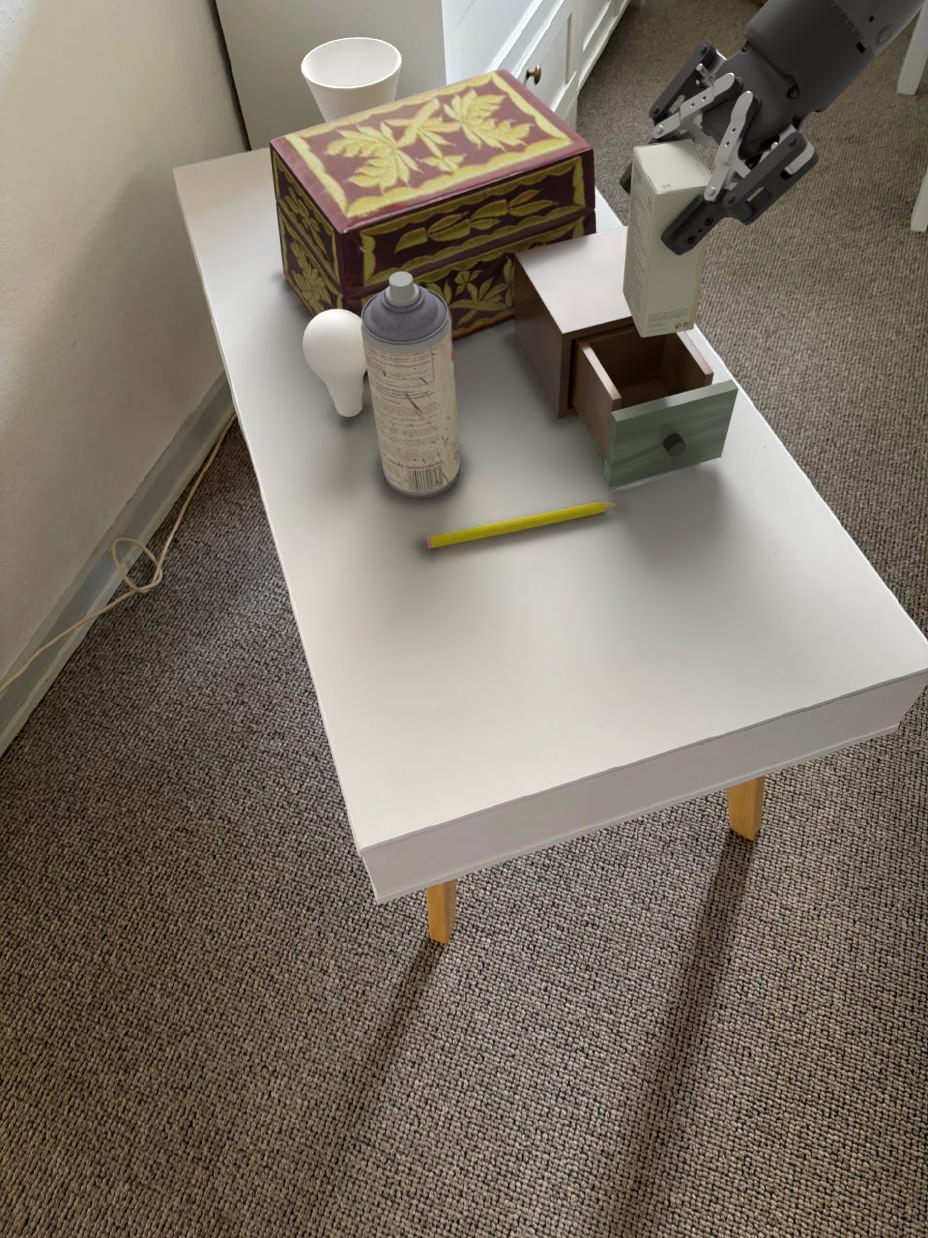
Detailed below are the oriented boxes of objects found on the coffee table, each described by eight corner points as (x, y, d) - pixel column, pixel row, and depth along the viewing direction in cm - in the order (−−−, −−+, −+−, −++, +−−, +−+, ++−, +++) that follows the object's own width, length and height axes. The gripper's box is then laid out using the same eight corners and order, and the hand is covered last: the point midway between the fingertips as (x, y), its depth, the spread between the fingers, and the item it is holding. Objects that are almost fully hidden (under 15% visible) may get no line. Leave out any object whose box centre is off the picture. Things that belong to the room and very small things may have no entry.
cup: (315, 166, 115) (293, 45, 103) (402, 151, 116) (390, 30, 105) (329, 217, 109) (308, 95, 98) (421, 200, 110) (411, 78, 99)
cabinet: (675, 387, 92) (691, 300, 83) (557, 419, 90) (562, 333, 82) (624, 310, 98) (634, 223, 90) (513, 339, 96) (514, 252, 88)
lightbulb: (368, 382, 94) (353, 285, 84) (393, 422, 90) (380, 326, 81) (308, 403, 92) (286, 307, 83) (331, 445, 89) (311, 349, 80)
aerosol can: (476, 471, 87) (467, 279, 70) (415, 511, 84) (392, 323, 68) (427, 430, 90) (408, 237, 73) (368, 467, 87) (334, 277, 71)
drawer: (727, 466, 84) (745, 398, 78) (614, 499, 83) (622, 432, 76) (669, 378, 91) (681, 308, 84) (562, 407, 89) (566, 338, 83)
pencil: (429, 551, 82) (428, 543, 81) (426, 542, 82) (425, 534, 81) (618, 511, 83) (619, 504, 82) (615, 503, 84) (616, 495, 83)
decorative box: (353, 380, 94) (329, 243, 81) (282, 275, 103) (251, 137, 91) (599, 288, 100) (611, 147, 88) (510, 196, 110) (510, 58, 97)
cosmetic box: (694, 332, 76) (721, 186, 65) (637, 340, 75) (656, 195, 65) (671, 281, 79) (694, 135, 69) (618, 288, 79) (632, 143, 69)
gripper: (755, -75, 63) (577, 140, 71) (876, 24, 56) (660, 253, 64) (808, -2, 68) (636, 191, 77) (926, 98, 61) (721, 301, 69)
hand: (648, 218), depth 70 cm, fingers closed on cosmetic box, 6 cm apart
